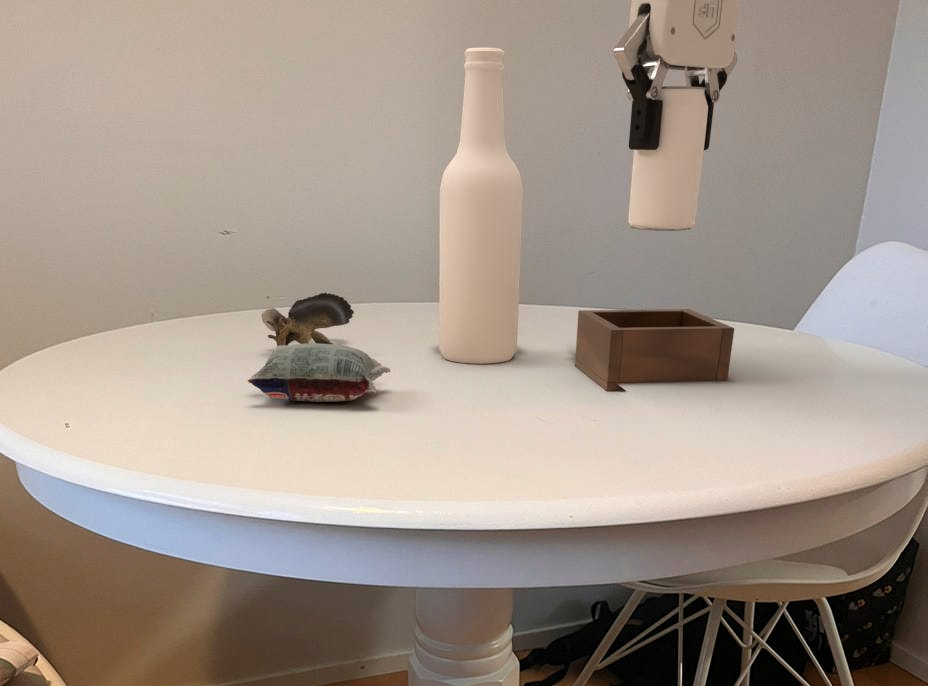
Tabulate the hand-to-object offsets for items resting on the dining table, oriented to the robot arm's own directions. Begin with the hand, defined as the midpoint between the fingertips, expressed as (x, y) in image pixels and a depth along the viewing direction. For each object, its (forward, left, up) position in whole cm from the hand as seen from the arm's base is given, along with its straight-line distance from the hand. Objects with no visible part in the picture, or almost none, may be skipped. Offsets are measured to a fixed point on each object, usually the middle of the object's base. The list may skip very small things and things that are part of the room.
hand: (669, 147), depth 92 cm
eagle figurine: (+35, -16, -22) cm, 44 cm away
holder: (0, 0, -21) cm, 21 cm away
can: (0, 0, -7) cm, 7 cm away
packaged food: (+34, +6, -22) cm, 41 cm away
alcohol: (+16, -12, -22) cm, 29 cm away
